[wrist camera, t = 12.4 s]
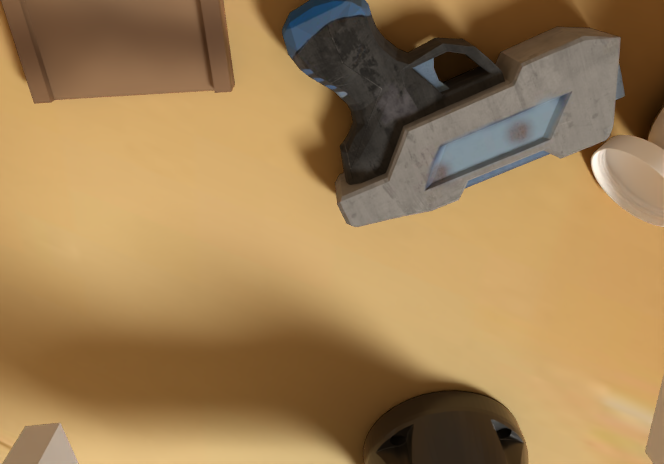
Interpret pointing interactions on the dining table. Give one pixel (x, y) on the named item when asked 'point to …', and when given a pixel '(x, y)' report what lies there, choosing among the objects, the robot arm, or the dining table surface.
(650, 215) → the spread jar
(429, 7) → the dining table surface
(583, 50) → the ray gun
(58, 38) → the board
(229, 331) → the dining table surface
